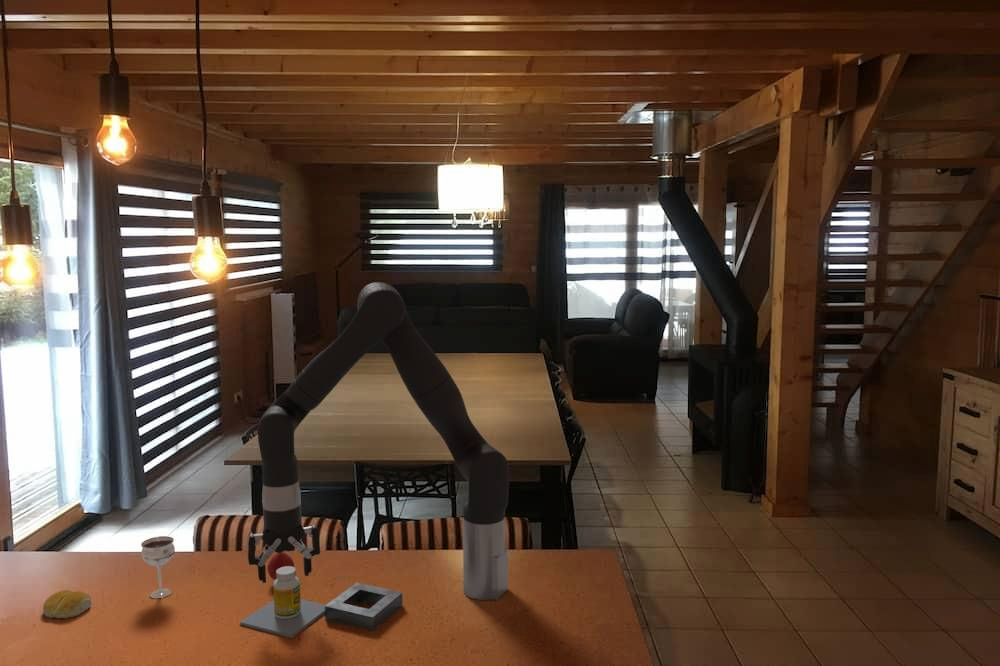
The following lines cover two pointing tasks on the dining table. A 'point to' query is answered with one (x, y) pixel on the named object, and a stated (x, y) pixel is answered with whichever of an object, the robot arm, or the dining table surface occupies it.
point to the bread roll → (66, 604)
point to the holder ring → (369, 619)
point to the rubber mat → (284, 627)
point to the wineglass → (158, 558)
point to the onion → (279, 563)
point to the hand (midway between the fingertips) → (285, 577)
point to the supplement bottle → (286, 593)
